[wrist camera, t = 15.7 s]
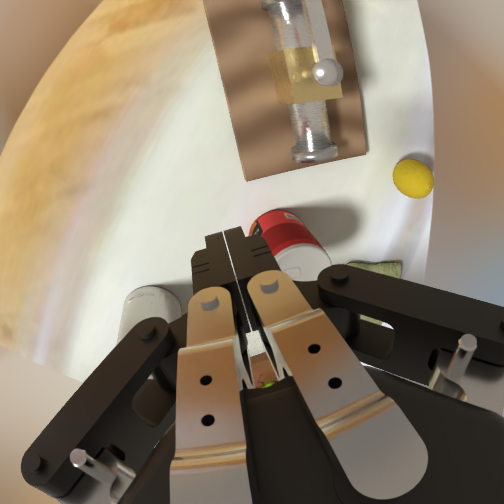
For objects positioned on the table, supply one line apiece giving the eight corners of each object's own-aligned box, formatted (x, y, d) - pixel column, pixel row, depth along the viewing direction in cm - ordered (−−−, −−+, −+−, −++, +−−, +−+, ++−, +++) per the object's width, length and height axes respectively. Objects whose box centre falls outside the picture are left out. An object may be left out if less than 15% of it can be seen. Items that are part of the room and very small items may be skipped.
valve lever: (338, 84, 26) (346, 85, 25) (313, 87, 26) (319, 88, 24) (308, -42, 18) (314, -47, 17) (281, -42, 18) (286, -47, 17)
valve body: (326, 147, 38) (359, 163, 31) (286, 155, 38) (311, 173, 30) (298, 0, 28) (328, -18, 20) (254, 4, 27) (274, -18, 20)
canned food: (241, 217, 42) (260, 258, 32) (297, 201, 42) (330, 237, 33) (253, 263, 46) (272, 311, 36) (304, 248, 46) (334, 290, 37)
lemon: (407, 148, 41) (441, 162, 35) (412, 179, 44) (444, 197, 37) (379, 160, 42) (412, 176, 35) (386, 192, 44) (417, 212, 38)
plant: (300, 333, 56) (321, 379, 46) (321, 382, 66) (338, 420, 57) (204, 373, 56) (210, 421, 47) (242, 413, 67) (252, 453, 57)
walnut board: (360, 152, 40) (366, 154, 39) (244, 178, 39) (246, 181, 38) (333, -10, 28) (338, -13, 27) (203, 1, 27) (203, -3, 25)
